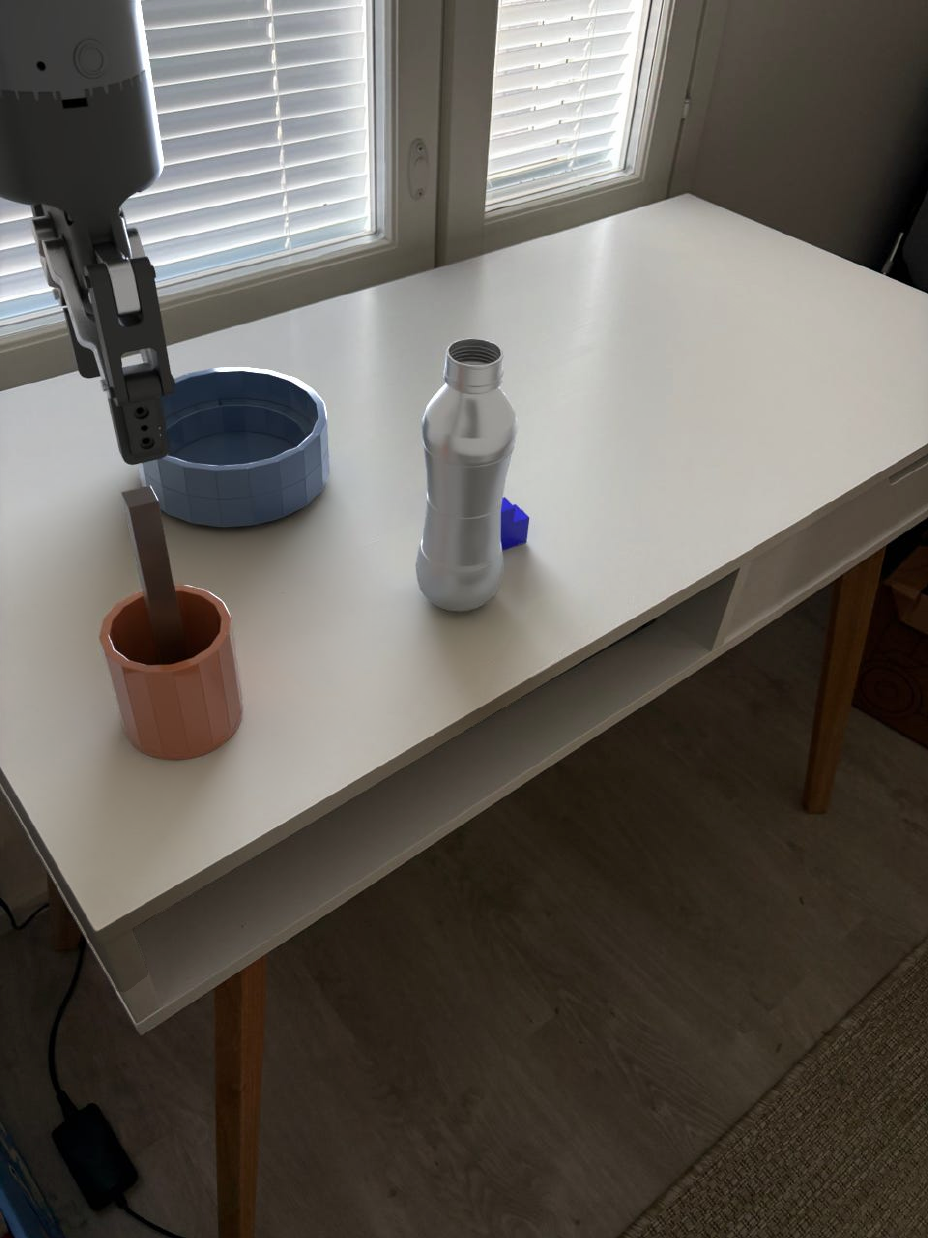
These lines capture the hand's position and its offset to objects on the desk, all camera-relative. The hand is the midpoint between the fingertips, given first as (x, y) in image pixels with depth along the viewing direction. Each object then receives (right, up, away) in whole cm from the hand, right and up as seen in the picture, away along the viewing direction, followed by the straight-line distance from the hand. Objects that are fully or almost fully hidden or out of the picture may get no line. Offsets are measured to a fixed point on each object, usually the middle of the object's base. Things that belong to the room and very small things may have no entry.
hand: (122, 413), depth 50 cm
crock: (-1, -17, +16) cm, 23 cm away
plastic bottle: (+17, -8, +26) cm, 32 cm away
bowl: (-2, +2, +35) cm, 35 cm away
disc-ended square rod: (-1, -16, +15) cm, 22 cm away
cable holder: (+19, -2, +33) cm, 38 cm away
